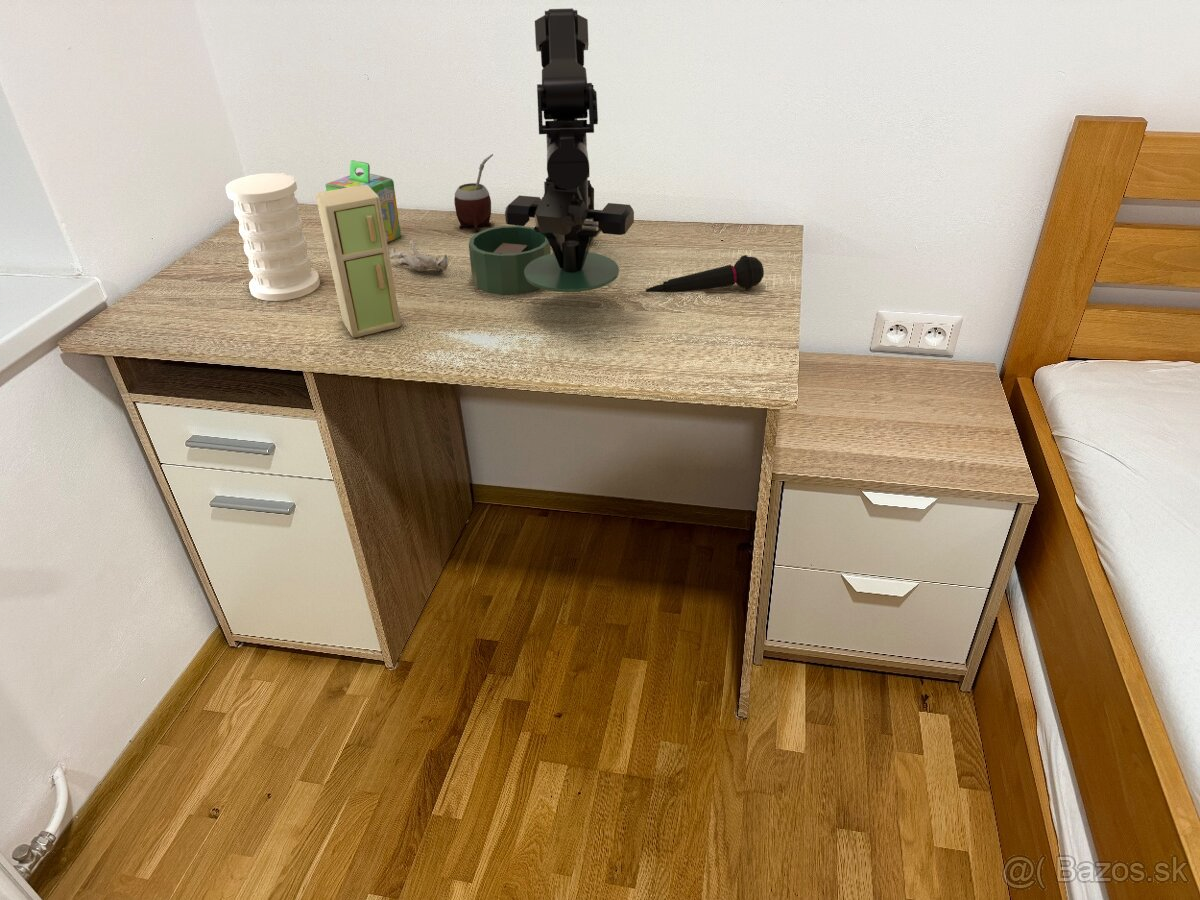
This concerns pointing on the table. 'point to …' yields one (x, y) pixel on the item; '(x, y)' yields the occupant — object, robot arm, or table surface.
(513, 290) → the tin
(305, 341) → the table surface
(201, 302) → the table surface
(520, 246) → the block
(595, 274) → the lid
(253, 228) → the decorative container
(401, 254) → the soldier figure
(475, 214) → the mate gourd
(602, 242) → the table surface
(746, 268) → the microphone
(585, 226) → the robot arm
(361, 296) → the toy refrigerator
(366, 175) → the chalk box
